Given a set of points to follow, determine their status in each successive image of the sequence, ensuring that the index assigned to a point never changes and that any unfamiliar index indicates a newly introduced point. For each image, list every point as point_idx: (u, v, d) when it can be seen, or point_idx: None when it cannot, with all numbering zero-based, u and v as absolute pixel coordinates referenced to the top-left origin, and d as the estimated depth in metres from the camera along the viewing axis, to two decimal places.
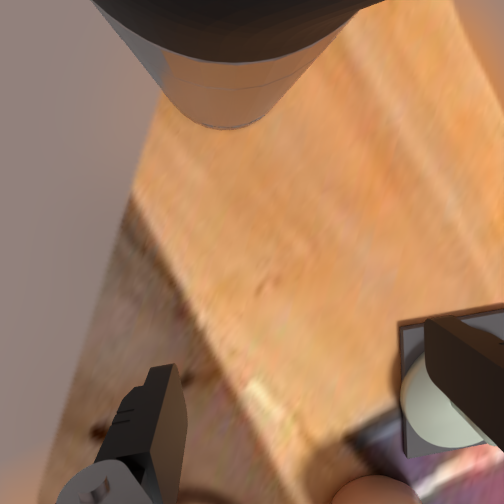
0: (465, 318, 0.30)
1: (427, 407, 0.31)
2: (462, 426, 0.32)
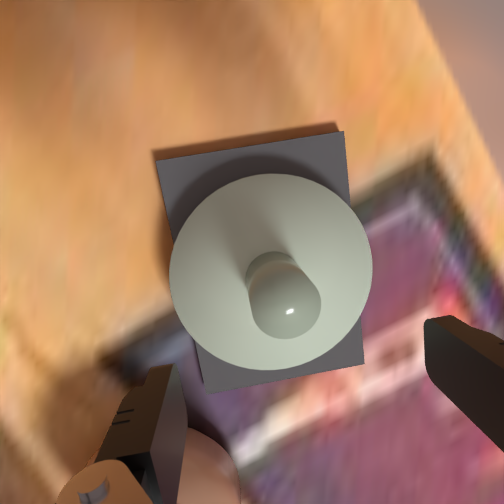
0: (265, 143, 0.18)
1: (207, 296, 0.18)
2: None
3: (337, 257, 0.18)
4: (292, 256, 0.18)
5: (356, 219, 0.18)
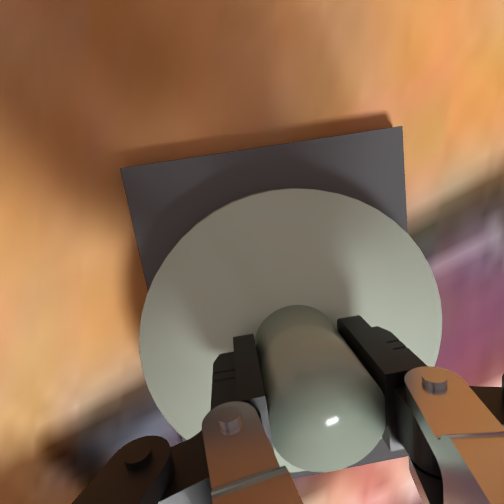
0: (285, 144, 0.12)
1: (197, 371, 0.12)
2: None
3: (391, 312, 0.12)
4: (325, 312, 0.12)
5: (422, 257, 0.12)
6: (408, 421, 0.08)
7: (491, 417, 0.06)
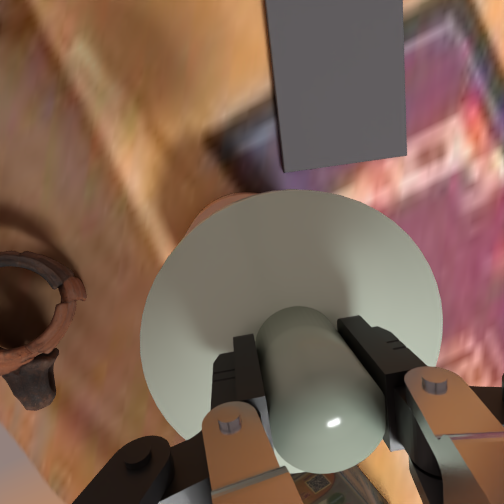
0: None
1: (198, 372, 0.12)
2: None
3: (391, 313, 0.12)
4: (325, 313, 0.12)
5: (422, 259, 0.12)
6: (408, 421, 0.08)
7: (491, 417, 0.06)
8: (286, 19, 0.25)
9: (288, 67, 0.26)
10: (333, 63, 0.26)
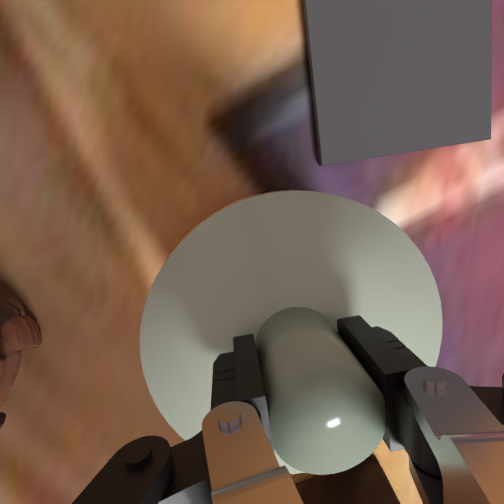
0: None
1: (198, 372, 0.12)
2: None
3: (391, 314, 0.12)
4: (325, 314, 0.12)
5: (422, 259, 0.12)
6: (408, 421, 0.08)
7: (491, 417, 0.06)
8: None
9: (327, 14, 0.18)
10: (392, 7, 0.18)
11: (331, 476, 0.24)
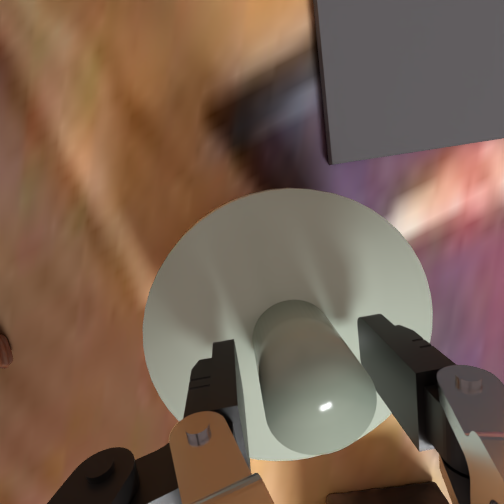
0: None
1: None
2: None
3: (383, 307, 0.13)
4: (320, 306, 0.13)
5: (412, 254, 0.13)
6: (441, 420, 0.08)
7: None
8: None
9: None
10: None
11: (389, 493, 0.22)
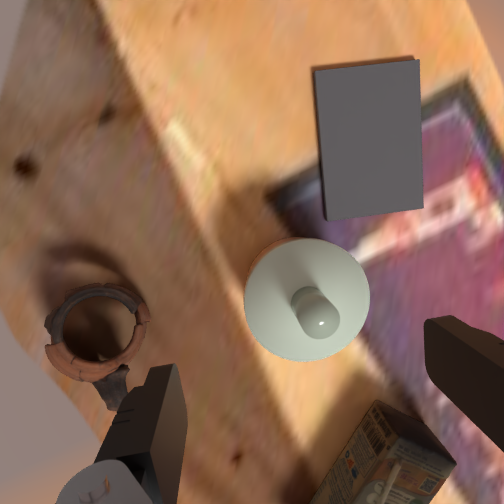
0: (375, 64, 0.32)
1: (267, 313, 0.30)
2: (308, 337, 0.30)
3: (348, 290, 0.30)
4: (320, 289, 0.30)
5: (360, 267, 0.29)
6: None
7: None
8: (331, 107, 0.32)
9: (332, 142, 0.33)
10: (367, 139, 0.33)
11: None
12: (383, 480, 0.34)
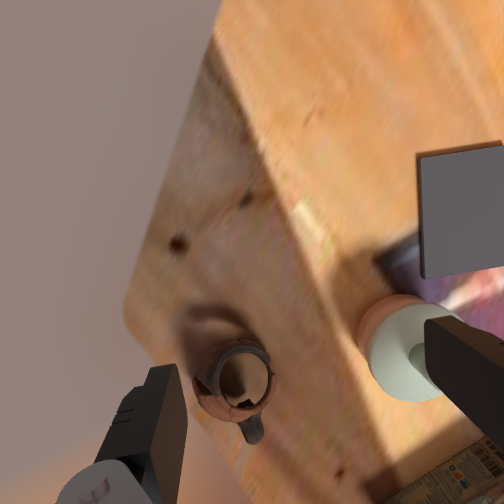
0: (470, 150, 0.38)
1: (389, 365, 0.36)
2: (421, 382, 0.37)
3: None
4: None
5: None
6: None
7: None
8: (433, 187, 0.38)
9: (432, 215, 0.39)
10: (461, 211, 0.39)
11: None
12: (492, 498, 0.42)
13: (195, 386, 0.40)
